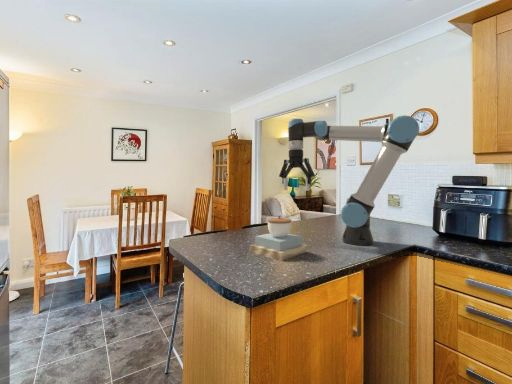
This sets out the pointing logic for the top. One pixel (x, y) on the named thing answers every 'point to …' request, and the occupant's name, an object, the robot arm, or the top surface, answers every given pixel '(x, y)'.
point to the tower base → (277, 252)
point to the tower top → (278, 241)
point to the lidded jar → (279, 226)
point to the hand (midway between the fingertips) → (296, 190)
